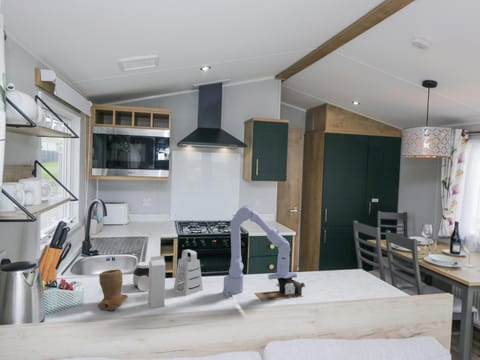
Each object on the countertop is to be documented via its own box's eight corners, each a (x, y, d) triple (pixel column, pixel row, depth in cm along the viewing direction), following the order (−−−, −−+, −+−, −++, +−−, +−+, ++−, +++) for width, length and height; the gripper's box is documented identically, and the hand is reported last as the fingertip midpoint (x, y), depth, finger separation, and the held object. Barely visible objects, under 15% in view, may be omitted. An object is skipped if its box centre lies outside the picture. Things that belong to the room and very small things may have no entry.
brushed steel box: (287, 297, 157) (287, 289, 157) (280, 292, 164) (281, 284, 164) (300, 295, 160) (300, 287, 159) (293, 290, 166) (293, 283, 166)
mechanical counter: (285, 271, 185) (277, 272, 177) (307, 274, 178) (300, 274, 170) (284, 284, 183) (277, 285, 175) (306, 288, 176) (299, 289, 168)
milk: (148, 303, 149) (149, 255, 148) (161, 301, 151) (162, 253, 151) (150, 308, 143) (152, 258, 142) (164, 306, 146) (165, 257, 145)
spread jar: (146, 281, 176) (147, 260, 175) (160, 286, 169) (161, 264, 169) (127, 287, 166) (127, 265, 166) (141, 293, 160) (142, 269, 159)
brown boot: (106, 297, 154) (107, 265, 153) (131, 298, 153) (131, 266, 152) (89, 311, 139) (90, 276, 138) (116, 312, 138) (117, 277, 137)
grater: (186, 295, 159) (187, 254, 158) (173, 289, 166) (174, 250, 165) (202, 290, 166) (204, 251, 166) (189, 284, 174) (191, 247, 173)
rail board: (261, 303, 152) (262, 290, 152) (254, 295, 162) (254, 283, 162) (303, 299, 160) (304, 286, 159) (293, 291, 169) (294, 279, 169)
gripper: (273, 268, 155) (271, 297, 155) (300, 267, 159) (298, 294, 160) (267, 264, 161) (265, 291, 162) (293, 262, 166) (292, 289, 166)
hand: (281, 292), depth 161 cm, fingers closed, pressing on brushed steel box
